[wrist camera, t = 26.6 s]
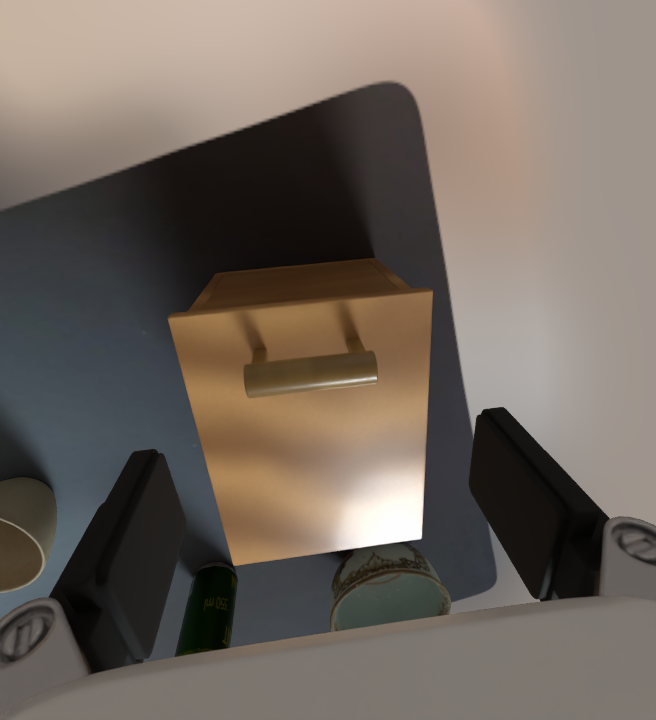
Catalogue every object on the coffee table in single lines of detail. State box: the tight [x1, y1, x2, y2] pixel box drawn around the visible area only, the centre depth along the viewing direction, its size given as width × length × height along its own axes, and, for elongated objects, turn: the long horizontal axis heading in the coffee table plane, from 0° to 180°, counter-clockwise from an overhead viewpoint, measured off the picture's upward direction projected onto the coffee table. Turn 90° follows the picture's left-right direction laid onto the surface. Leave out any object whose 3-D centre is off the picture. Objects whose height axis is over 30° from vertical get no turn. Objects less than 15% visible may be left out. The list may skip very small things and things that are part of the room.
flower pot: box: [0, 477, 57, 593], centre depth 36 cm, size 10×10×7 cm
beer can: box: [175, 562, 238, 657], centre depth 42 cm, size 5×5×12 cm
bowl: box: [330, 542, 451, 632], centre depth 45 cm, size 14×13×8 cm
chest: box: [188, 258, 412, 311], centre depth 30 cm, size 18×14×13 cm
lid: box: [168, 287, 433, 566], centre depth 22 cm, size 18×14×5 cm
